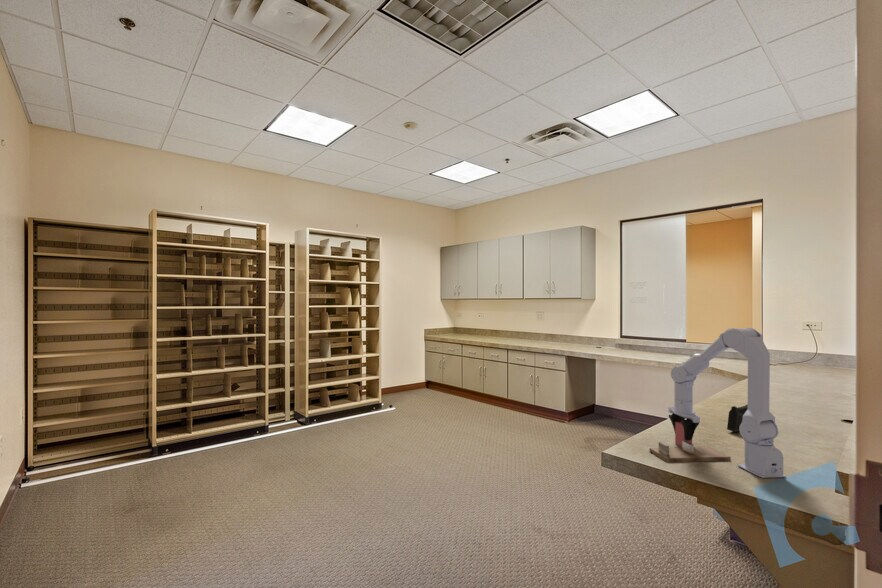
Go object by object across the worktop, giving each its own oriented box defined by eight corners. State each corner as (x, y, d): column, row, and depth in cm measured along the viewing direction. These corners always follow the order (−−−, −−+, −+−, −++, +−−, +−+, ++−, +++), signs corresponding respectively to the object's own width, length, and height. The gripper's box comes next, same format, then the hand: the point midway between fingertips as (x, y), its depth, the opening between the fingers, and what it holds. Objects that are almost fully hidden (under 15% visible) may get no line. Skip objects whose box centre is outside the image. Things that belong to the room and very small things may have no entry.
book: (692, 448, 154) (692, 425, 154) (684, 448, 153) (684, 425, 154) (682, 443, 159) (682, 421, 159) (675, 443, 158) (675, 421, 158)
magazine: (733, 412, 169) (760, 383, 186) (724, 411, 172) (751, 382, 189) (738, 452, 172) (765, 419, 189) (729, 450, 174) (756, 418, 191)
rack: (708, 450, 152) (708, 438, 152) (730, 460, 142) (730, 447, 142) (649, 451, 149) (649, 439, 150) (667, 462, 140) (667, 449, 140)
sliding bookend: (685, 449, 148) (685, 440, 148) (693, 453, 144) (693, 444, 144) (682, 449, 147) (682, 440, 148) (690, 453, 143) (690, 444, 144)
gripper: (708, 404, 149) (708, 443, 149) (680, 395, 164) (680, 431, 164) (688, 404, 149) (688, 444, 149) (663, 395, 163) (663, 431, 163)
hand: (683, 437), depth 156 cm, fingers closed on book, 5 cm apart
